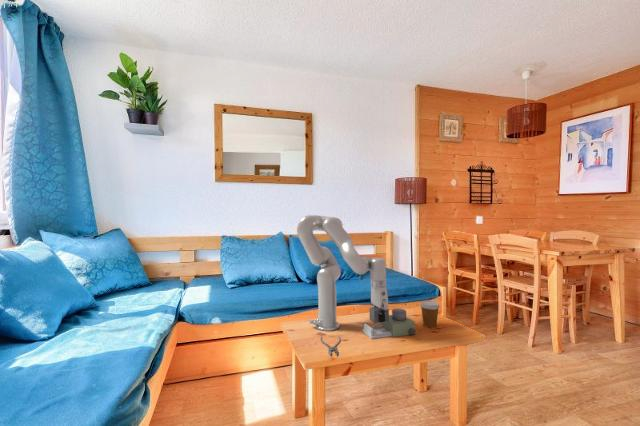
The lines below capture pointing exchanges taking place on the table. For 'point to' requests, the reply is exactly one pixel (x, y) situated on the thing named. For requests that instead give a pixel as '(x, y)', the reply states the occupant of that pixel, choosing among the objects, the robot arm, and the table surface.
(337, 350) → the pliers
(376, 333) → the knobbed sage block
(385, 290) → the robot arm
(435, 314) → the disposable coffee cup
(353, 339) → the table surface
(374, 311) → the dark grey block
